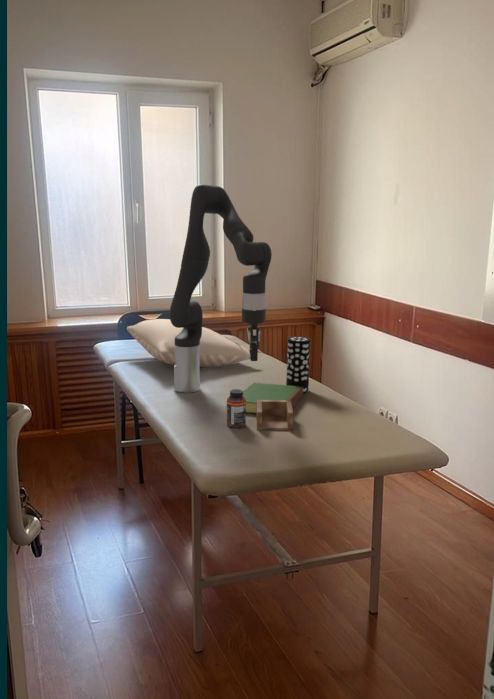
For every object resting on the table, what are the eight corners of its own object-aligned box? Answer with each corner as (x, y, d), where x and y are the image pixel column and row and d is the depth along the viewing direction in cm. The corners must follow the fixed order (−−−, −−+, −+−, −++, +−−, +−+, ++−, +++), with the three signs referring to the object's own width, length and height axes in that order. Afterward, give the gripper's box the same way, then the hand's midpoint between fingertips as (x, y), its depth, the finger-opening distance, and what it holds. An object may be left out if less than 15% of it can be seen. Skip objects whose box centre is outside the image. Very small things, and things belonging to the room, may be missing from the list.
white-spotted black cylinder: (307, 395, 224) (309, 342, 220) (284, 393, 226) (286, 340, 221) (309, 388, 232) (311, 337, 227) (287, 387, 234) (289, 336, 229)
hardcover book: (285, 416, 200) (285, 405, 199) (231, 411, 206) (231, 400, 205) (303, 395, 223) (303, 386, 222) (254, 391, 229) (254, 382, 228)
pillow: (157, 377, 237) (254, 379, 260) (164, 332, 233) (261, 337, 256) (121, 349, 274) (209, 352, 296) (126, 309, 270) (215, 315, 293)
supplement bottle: (226, 421, 196) (226, 388, 193) (244, 421, 196) (245, 387, 193) (227, 428, 190) (227, 393, 187) (246, 428, 190) (246, 393, 188)
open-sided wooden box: (256, 429, 189) (257, 412, 188) (256, 416, 201) (256, 399, 199) (292, 430, 189) (293, 412, 188) (290, 417, 201) (290, 400, 199)
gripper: (241, 303, 198) (241, 352, 201) (242, 310, 184) (242, 363, 188) (264, 303, 198) (264, 352, 202) (267, 310, 184) (266, 363, 188)
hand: (253, 357), depth 195 cm, fingers open, 8 cm apart
